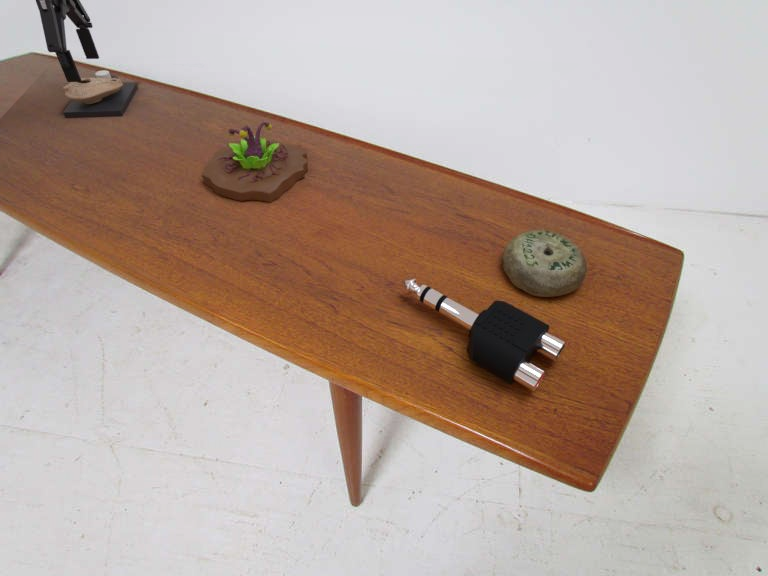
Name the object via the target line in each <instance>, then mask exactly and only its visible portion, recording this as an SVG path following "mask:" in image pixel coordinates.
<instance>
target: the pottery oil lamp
mask: <svg viewBox="0 0 768 576" xmlns="http://www.w3.org/2000/svg"><path fill="white" fill-rule="evenodd" d="M80 78H81V82H68V84H66V85H65V86H63V87H62V89H63V90H64V95H65V97H66V98H68V99H70V100H75V101H78V102H82V103H84V104H93V103H96V102H99V101H101V100H102V98H104V97H106V96H109V95H111V94H113V93H116V92H118V91H119V90H120V89H121V87H122V86H123V83H124V82H122V80H121V79H120V78H118V79H117V78H95V77H80Z"/></svg>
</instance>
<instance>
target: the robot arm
mask: <svg viewBox="0 0 768 576" xmlns="http://www.w3.org/2000/svg"><path fill="white" fill-rule="evenodd" d="M35 2H36V3H35V4H36V5H37V9H38V11H39V17H40V21H41V24H42V30H43V35H44V39H45V43H46V44H45V45H46V49H47V51H48V53H55V55H56V57H57V61H58V63H59V65H60V67H61V70H62V72H63V75H64V78H65V79H66V82H67V83H70V82H81V78H82V77H81V75H80V73H79V71H78V68H77V66H76V63H75V60H74V58H73V56H72V52H71V51H70V49H68V48H67V47H68V46H67V37H66V27H65V20H67V18H69V21H71V22H72V23H73V25H74V26H75V27H76V29H75V33H76V34H77V35H76V36H77V37H78V41H79V43H80V45H81V48H82V51H83V53H84V56H85V59H86V60H99V59H100V56H99V53H98V50H97V47H96V44H95V42H94V39H93V36H92V33H91V31H90V29H93V23H92V22H91V18H90V16H89V14H88V13H87V11H86V9H85V8H84V5H83V4H82V2H81V0H35Z"/></svg>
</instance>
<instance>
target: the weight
mask: <svg viewBox="0 0 768 576" xmlns="http://www.w3.org/2000/svg"><path fill="white" fill-rule="evenodd" d="M501 265H502V268H503V270H504V272H505V274H506V276H507V277H508V278H509V280H510V282H511V283H512V284H513V286H514V287H516V288H517V289H520V290H522V291H524V292H525V293H527V294H529V295H531V296H535V297H539V298H554V297H560V296H564V295H567V294H570V293H572V292H574V291H576V290H577V289H578V288H579V287H580V286H581V285H583V282H584V279H585V278H586V276H587V271H588V263H587V260H586V257H585V255H584V253H583V251H582V250H581V249H580V247H579V246H578V245H577V244H576V243H575V242H574V241H572V240H571V239H570V238H568V237H567V236H564V235H563V234H560V233H558V232H554V231H551V230H546V229H534V230H527V231H524V232H521V233H520V234H518V235H516V236H514V237H513V238H512V239H511V240H510V241H509V242H508V243H507V244H506V246H505V248H504V249H503V253H502V257H501Z"/></svg>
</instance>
